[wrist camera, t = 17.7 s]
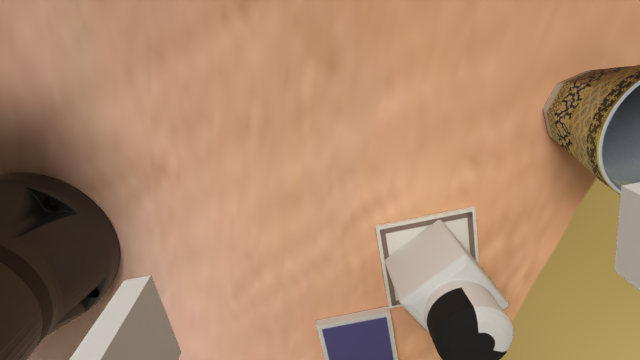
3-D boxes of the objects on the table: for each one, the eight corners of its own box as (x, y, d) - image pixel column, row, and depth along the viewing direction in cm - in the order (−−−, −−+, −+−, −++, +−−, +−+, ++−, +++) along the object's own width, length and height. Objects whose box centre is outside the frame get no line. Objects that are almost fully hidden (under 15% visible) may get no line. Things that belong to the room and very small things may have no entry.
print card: (388, 306, 44) (389, 309, 44) (374, 225, 41) (375, 227, 40) (479, 288, 44) (481, 291, 44) (473, 206, 41) (475, 208, 40)
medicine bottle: (423, 302, 44) (465, 396, 33) (382, 259, 42) (413, 344, 30) (478, 262, 42) (542, 347, 31) (439, 217, 40) (493, 289, 29)
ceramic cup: (504, 139, 38) (571, 175, 29) (563, 34, 35) (658, 36, 26) (615, 184, 41) (710, 231, 31) (679, 89, 38) (806, 110, 28)
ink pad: (329, 374, 47) (330, 383, 46) (316, 320, 45) (316, 327, 43) (397, 362, 47) (399, 370, 46) (388, 306, 44) (390, 313, 43)
